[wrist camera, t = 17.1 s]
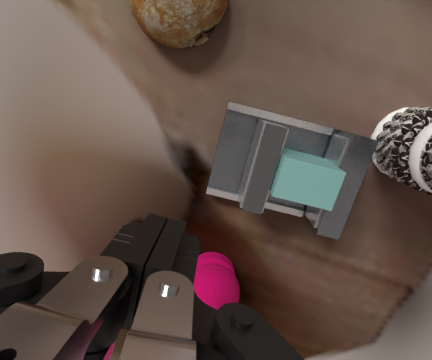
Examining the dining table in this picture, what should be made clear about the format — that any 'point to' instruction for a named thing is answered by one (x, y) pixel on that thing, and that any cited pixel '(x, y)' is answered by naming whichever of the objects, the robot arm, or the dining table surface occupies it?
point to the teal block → (307, 180)
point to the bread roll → (178, 20)
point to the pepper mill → (216, 280)
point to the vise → (298, 141)
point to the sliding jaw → (261, 165)
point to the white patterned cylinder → (406, 147)
